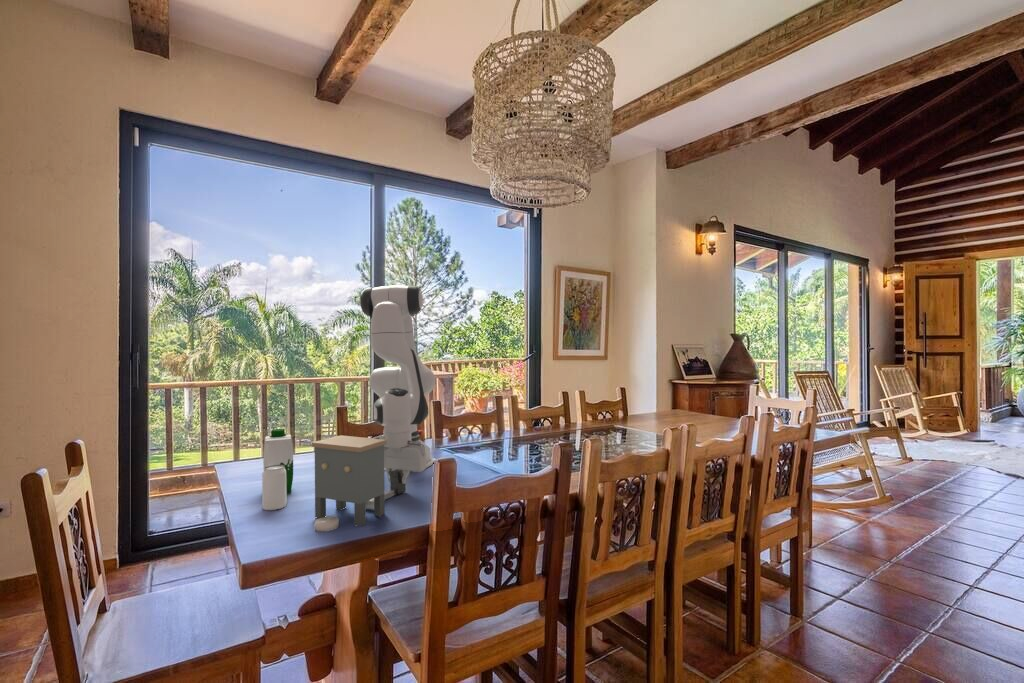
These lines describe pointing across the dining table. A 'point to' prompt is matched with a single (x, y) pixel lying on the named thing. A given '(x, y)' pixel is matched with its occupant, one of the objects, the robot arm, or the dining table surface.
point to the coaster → (326, 523)
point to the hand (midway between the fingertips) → (397, 482)
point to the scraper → (395, 488)
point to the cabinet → (349, 474)
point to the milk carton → (279, 453)
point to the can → (274, 487)
